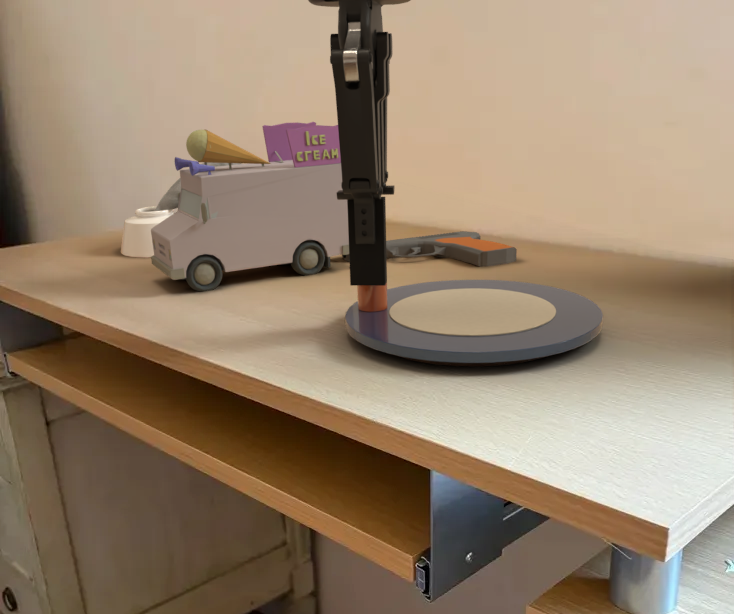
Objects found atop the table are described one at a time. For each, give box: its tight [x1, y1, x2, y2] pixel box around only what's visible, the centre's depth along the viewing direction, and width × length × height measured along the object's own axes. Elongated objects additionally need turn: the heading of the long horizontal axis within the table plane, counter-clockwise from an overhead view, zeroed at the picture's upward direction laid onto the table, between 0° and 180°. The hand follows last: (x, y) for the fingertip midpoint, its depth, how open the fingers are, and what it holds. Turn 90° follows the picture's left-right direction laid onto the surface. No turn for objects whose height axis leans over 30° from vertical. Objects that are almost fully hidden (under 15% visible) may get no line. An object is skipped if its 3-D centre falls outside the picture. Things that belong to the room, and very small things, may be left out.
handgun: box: [341, 230, 518, 268], centre depth 90 cm, size 2×16×12 cm
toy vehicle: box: [150, 121, 349, 293], centre depth 84 cm, size 9×20×15 cm, turn 117°
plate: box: [344, 279, 604, 363], centre depth 64 cm, size 20×20×6 cm
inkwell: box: [120, 162, 242, 259], centre depth 102 cm, size 9×18×10 cm, turn 129°
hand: (368, 283), depth 64 cm, fingers closed
